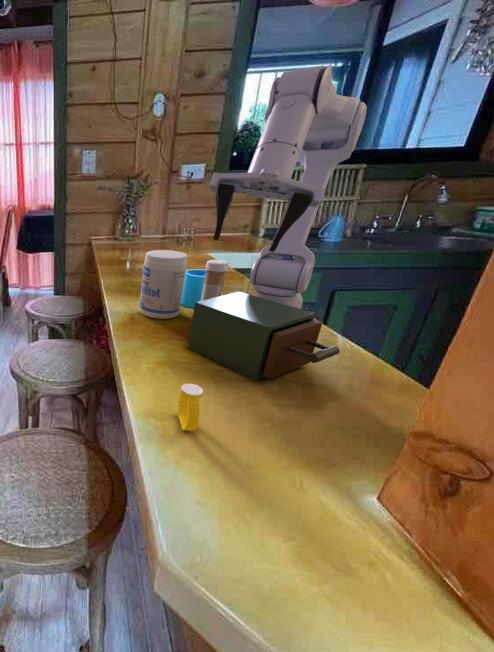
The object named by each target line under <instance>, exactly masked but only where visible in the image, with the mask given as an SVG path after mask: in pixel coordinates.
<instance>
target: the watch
mask: <svg viewBox="0 0 494 652" xmlns="http://www.w3.org/2000/svg"><path fill="white" fill-rule="evenodd" d="M203 395H204V390H203V388H202V387H201V386H199V385H198V384H195V383H184V384H182V385H181V386H180V390H179V396H178V405H177V406H178V408H177V409H178V410H177V411H178V419H179V423H180V426H181V430H182V431H189V432H195V431H196V430H197V428H198V426H199V420H200V414H201V413H200V409H201V407H200V406H201V404H200V399H201V398H202V397H203Z"/></svg>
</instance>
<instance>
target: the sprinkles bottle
mask: <svg viewBox="0 0 494 652" xmlns="http://www.w3.org/2000/svg"><path fill="white" fill-rule="evenodd" d="M229 266H230V263H229V261H227V260H223V259H209V260H207V261H206V265H205V270H206V275H205V281H204V286H203V292H202V298H201V301H203V300H207V299H211V298H215V297H220V296H224V295H223V294H224V289H225V282H226V275H227V272H228V270H229Z"/></svg>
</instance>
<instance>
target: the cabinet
mask: <svg viewBox="0 0 494 652" xmlns="http://www.w3.org/2000/svg"><path fill="white" fill-rule="evenodd" d="M192 313H193V314H192V320H191V326H190V333H189V340H188V346H187V348H188V349H189V350H192V351H193V352H196V353H198V354H200V355H201V356H204V357H206V358H208V359H210V360H213V361H215V362H216V363H219V364H221V365H223V366H225V367H227V368H229V369H232V370H234V371H236V372H237V373H240V374H242V375H244V376H247V377H248V378H251V379H253V380H255V381H258V380H260V379H263V378H265V377H264V376H263V373H264V369H265V368H262V366H263V362H264V358H265V354H266V350H267V346H268V342H269V338H270V334H271V331H273V330H276V329H279V328H283V327H286V326H289V325H292V324H295V323H298V322H302V321H304V323H307V322H310V321H313V320H315V317H316V314H317V313H316V312H313V311H309V310H305V309H302V308H301V309H299V308H295V307H292V306H288V305H285V304H281V303H277V302H274V301H270V300H267V299H263V298H260V297H256V296H255V295H252V294H248V293H245V292H241V291H238V292H233V293H228V294H224V295H222V296H220V297H215V298H211V299H207V300H203V301H198V302H195V307H194V308H193V312H192ZM304 323H303V324H304Z"/></svg>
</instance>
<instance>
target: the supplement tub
mask: <svg viewBox="0 0 494 652" xmlns="http://www.w3.org/2000/svg"><path fill="white" fill-rule="evenodd" d="M187 265H188V254H187V253H185V252H182V251H178V250H171V249H170V250H169V249H154V250H148V251H147V252H146V253H145V258H144V262H143V268H142V279H141V287H140V295H139V296H140V297H139V305H138V310H139V312H140V314H142V315H144V316H146V317H148V318H151V319H152V318H153V319H160V320H168V319H173V318H175V317H177V316H178V315H179V313H180V308H181V297H182V291H183V285H184V278H185V272H186V270H187Z"/></svg>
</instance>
